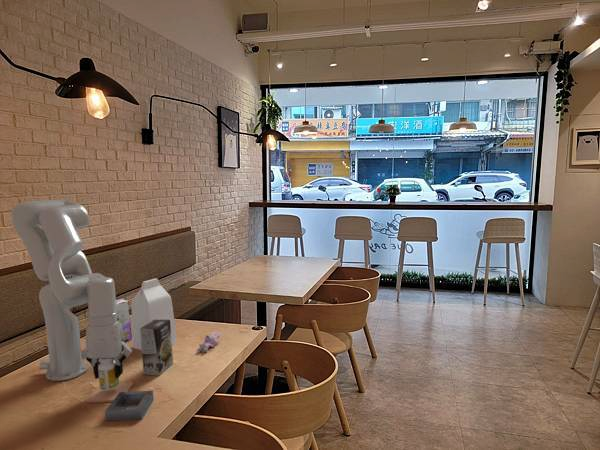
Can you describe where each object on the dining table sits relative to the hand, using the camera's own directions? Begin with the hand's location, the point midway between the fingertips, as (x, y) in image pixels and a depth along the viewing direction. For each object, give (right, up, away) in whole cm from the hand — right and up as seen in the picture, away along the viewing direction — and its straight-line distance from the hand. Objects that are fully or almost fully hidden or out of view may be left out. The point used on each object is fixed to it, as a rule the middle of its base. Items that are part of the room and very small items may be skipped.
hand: (108, 375), depth 125 cm
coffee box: (+10, -4, +16) cm, 19 cm away
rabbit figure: (+24, -1, +33) cm, 41 cm away
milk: (+1, -1, +36) cm, 36 cm away
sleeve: (+11, -6, -9) cm, 15 cm away
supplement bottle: (0, -4, 0) cm, 4 cm away
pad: (0, -5, +1) cm, 6 cm away
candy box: (-17, -2, +39) cm, 42 cm away
